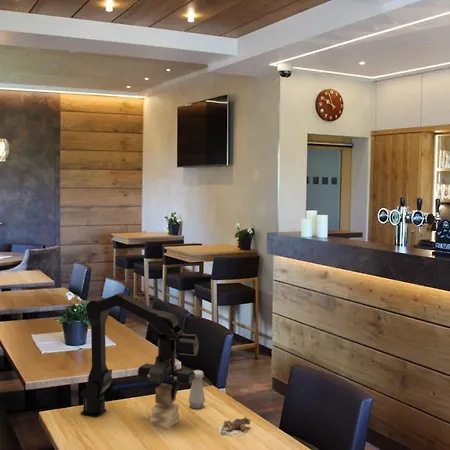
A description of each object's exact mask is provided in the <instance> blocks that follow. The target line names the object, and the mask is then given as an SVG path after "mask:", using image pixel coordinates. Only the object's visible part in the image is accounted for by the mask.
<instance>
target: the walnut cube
mask: <svg viewBox="0 0 450 450" xmlns="http://www.w3.org/2000/svg"><path fill="white" fill-rule="evenodd" d="M176 396H177V395H176ZM176 396H175V398H174V400H172V384H168V383H163V382H161V385H159V386H158V387H157V388H156V391H155V404H157V403H159V404H165V405H170V404H171V403H175V401H176V399H177V398H176Z"/></svg>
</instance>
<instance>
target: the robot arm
mask: <svg viewBox="0 0 450 450" xmlns="http://www.w3.org/2000/svg"><path fill="white" fill-rule="evenodd" d="M115 307H118V308H120V309H122V310H124V311H127V312H129V313H130V314H133V315H135V316H137V317H138V318H140V319H142V320H144V321H146V322H147V323H148V324H150V326H151V327H152V328H153V329H154V330H155V331H156V333H155V334H154V335H152V337H151V339H153V340H157V356H156V357H155V362H154V363H145V364H142V365H140V366H138V369H137V376H139V377H142V378H143V377H144V378H145V377H146V380H147V381H148V380H149V381H150V382H151V384H152V386H153V389H154V391H155V392H156V388H157V387H158V386H159V385H161V384H162V382H163V381H165V380H166V378H167V379H169V378H170V377H171V378H173V380H172V381H171V382H170V385H172V400H174V398H175V396H177V393H178V391H179V388H180V386H181V385H182V384H190V383H192V381H193V380H194V379H195V373H194V371H195V370H193V369H186V368H184V369H182V370H181V371H177V367H178V366H177V365H176V359H177V357H178V355H184V356H193V357H195V356H197V355H198V353H199V352H198V351H199V346H200V345H199V344H200V342H199V339H198V336H197V334H194V333H191V334H190V333H189V334H188V333H185V332H184V330H183V328H182V327H181V325H180V323H179V319H178V317H177V316H176V315H175V314H174V313H171V312H168V311H164V310H158V309H155V308H153V307H150V306H149V305H147V304H145V303H143V302H141V301H138V300H136V299H135V298H132V297H131V296H129V295H127V294H126V293H124V292H117V293H116V294H113V295H112V296H108V297H106V298H105V297H101V296H100V297H97V298H95V299H93V300H90V301H88V302H87V304H86V305H85V312H86V318H87V319H86V320H88V323H89V325H90V336H91V341H90V343H91V369H90V370H89V374H88V378H87V384H86V387H85V388H83V390H82V391H80V392H79V393H80V397H81V399H83V400H82V401H83V402H82V404H83V405H82V406H83V407H82V408H83V409H82V411H80V415H84V416H90V417H93V418H94V417H95V418H97V417H99V416H101V415H102V414H103V413H105V412H106V411H107V409H106V399H105V395H104V393H105V392H106V391H107V389H108V388H109V387H110V386H111V383H112V382H113V376H112V374H113V370H112V369H109V368H108V367H107V364H106V363H107V362H106V361H107V358H106V357H107V356H106V354H107V353H106V352H107V351H106V324H107V323H106V322H107V319H108V317H109V313H110V309H113V308H115Z"/></svg>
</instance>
